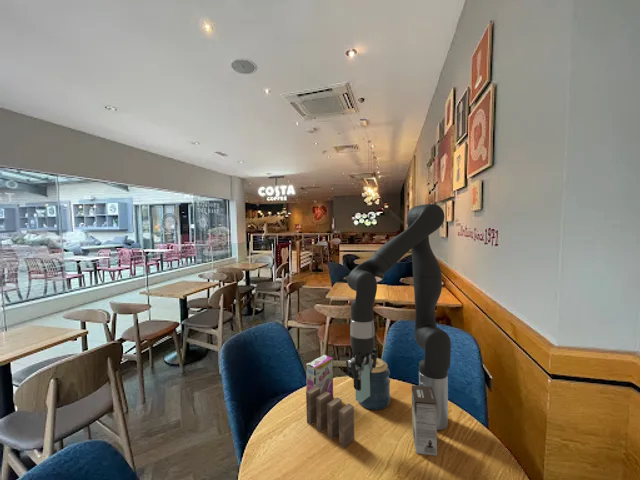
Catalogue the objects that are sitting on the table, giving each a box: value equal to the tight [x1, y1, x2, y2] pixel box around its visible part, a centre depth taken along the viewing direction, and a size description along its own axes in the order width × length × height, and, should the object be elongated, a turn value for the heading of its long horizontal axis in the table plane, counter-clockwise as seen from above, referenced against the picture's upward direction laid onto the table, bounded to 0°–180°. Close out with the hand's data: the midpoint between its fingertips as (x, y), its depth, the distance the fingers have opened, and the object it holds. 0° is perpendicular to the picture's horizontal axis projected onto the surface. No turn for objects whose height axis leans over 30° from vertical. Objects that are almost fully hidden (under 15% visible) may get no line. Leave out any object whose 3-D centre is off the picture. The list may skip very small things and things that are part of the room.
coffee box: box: [411, 384, 438, 457], centre depth 86 cm, size 9×6×16 cm
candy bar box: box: [305, 354, 334, 399], centre depth 108 cm, size 11×5×16 cm, turn 139°
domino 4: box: [338, 403, 355, 449], centre depth 87 cm, size 2×5×11 cm, turn 135°
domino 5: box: [355, 362, 370, 404], centre depth 88 cm, size 2×5×11 cm, turn 135°
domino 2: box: [316, 391, 332, 433], centre depth 94 cm, size 2×5×11 cm, turn 135°
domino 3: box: [327, 397, 343, 441], centre depth 90 cm, size 2×5×11 cm, turn 136°
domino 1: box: [305, 386, 320, 426], centre depth 97 cm, size 2×5×11 cm, turn 135°
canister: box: [357, 357, 391, 411], centre depth 108 cm, size 13×13×18 cm
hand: (362, 385), depth 88 cm, fingers closed on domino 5, 5 cm apart
